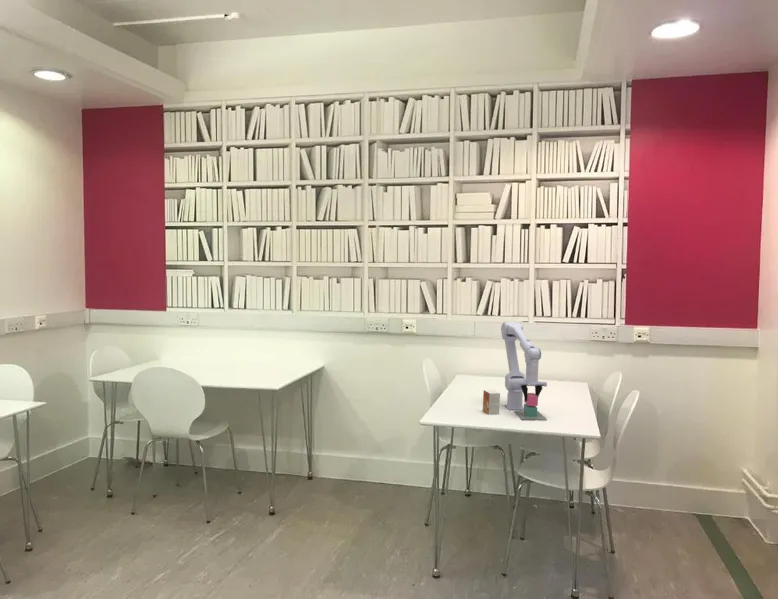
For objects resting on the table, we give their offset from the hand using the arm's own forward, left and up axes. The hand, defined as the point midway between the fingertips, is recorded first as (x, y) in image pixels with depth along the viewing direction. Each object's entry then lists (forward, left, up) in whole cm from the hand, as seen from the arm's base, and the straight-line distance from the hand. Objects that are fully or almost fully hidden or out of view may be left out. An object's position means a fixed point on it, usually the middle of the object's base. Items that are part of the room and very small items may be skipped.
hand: (530, 400), depth 301 cm
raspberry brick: (0, 0, -1) cm, 1 cm away
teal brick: (0, 0, -7) cm, 7 cm away
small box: (-6, -18, -8) cm, 21 cm away
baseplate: (0, 0, -8) cm, 8 cm away
